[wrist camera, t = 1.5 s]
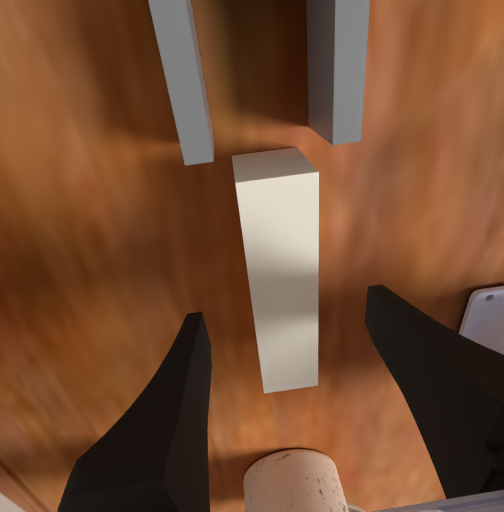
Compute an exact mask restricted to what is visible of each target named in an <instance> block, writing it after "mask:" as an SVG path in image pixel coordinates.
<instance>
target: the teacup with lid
mask: <svg viewBox="0 0 504 512" xmlns="http://www.w3.org/2000/svg"><path fill="white" fill-rule="evenodd" d="M243 485H244V501H245V512H366V511H365V510H364V509H363V508H361V507H360V506H358V505H356V504H354V503H351V502H346V500H345V497H344V493H343V490H342V486H341V483H340V479H339V476H338V473H337V469H336V466H335V464H334V462H333V461H332V460H331V459H330V458H329V457H328V456H327V455H325V454H323V453H320V452H317V451H313V450H307V449H293V450H285V451H280V452H276V453H273V454H270V455H268V456H266V457H263V458H262V459H260V460H258V461H257V462H255V463H254V464H253V465H252V466H251V467H250V468H249V469H248V470H247V472H246V474H245V476H244V481H243Z"/></svg>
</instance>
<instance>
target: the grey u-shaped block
mask: <svg viewBox="0 0 504 512" xmlns="http://www.w3.org/2000/svg"><path fill="white" fill-rule="evenodd" d="M148 2H149V6H150V11H151V15H152V20H153V24H154V29H155V33H156V38H157V42H158V47H159V51H160V56H161V60H162V65H163V69H164V74H165V78H166V83H167V87H168V92H169V96H170V101H171V105H172V110H173V114H174V119H175V123H176V128H177V132H178V137H179V141H180V146H181V150H182V154H183V159H184V163H185V166H186V165H193V164H200V163H208V162H214V135H213V129H212V123H211V117H210V111H209V105H208V99H207V93H206V87H205V81H204V75H203V69H202V63H201V57H200V51H199V45H198V39H197V33H196V27H195V22H194V16H193V10H192V4H191V0H148ZM369 5H370V0H306V6H307V59H308V113H309V128H311V129H312V130H313V131H315V132H316V133H317V134H319V135H320V136H321V137H323V138H324V139H325V140H327V141H328V142H329V143H331V144H332V145H337V144H345V143H352V142H359V141H361V132H362V116H363V100H364V85H365V69H366V53H367V37H368V21H369Z"/></svg>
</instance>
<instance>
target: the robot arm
mask: <svg viewBox="0 0 504 512" xmlns="http://www.w3.org/2000/svg"><path fill="white" fill-rule="evenodd" d="M365 324H366V327H367V329H368V331H369V334H370V336H371V339H372V341H373V343H374V345H375V347H376V348H377V350H378V352H379V354H380V355H381V357H382V359H383V360H384V362H385V364H386V366H387V367H388V369H389V371H390V372H391V374H392V376H393V378H394V379H395V381H396V383H397V384H398V386H399V388H400V390H401V392H402V393H403V395H404V397H405V399H406V402H407V404H408V406H409V408H410V410H411V412H412V415H413V417H414V419H415V421H416V424H417V426H418V428H419V431H420V433H421V435H422V437H423V440H424V442H425V445H426V447H427V450H428V452H429V454H430V457H431V459H432V462H433V464H434V467H435V469H436V472H437V475H438V477H439V480H440V483H441V485H442V488H443V491H444V493H445V496H446V499H445V500H439V501H433V502H427V503H421V504H416V505H410V506H404V507H398V508H392V509H386V510H380V511H374V512H504V286H500V287H493V288H486V289H479V290H476V291H474V292H473V293H472V294H471V296H470V298H469V301H468V305H467V308H466V311H465V314H464V317H463V321H462V324H461V327H460V330H459V334H458V333H456V332H455V331H453V330H451V329H449V328H447V327H446V326H444V325H442V324H441V323H439V322H437V321H436V320H434V319H432V318H431V317H429V316H427V315H426V314H424V313H423V312H421V311H420V310H418V309H417V308H415V307H414V306H412V305H411V304H409V303H408V302H406V301H405V300H404V299H402V298H401V297H399V296H398V295H396V294H395V293H394V292H392V291H391V290H389V289H388V288H386V287H385V286H383V285H376V286H369V287H368V292H367V302H366V312H365ZM211 369H212V365H211V345H210V341H209V337H208V333H207V329H206V325H205V321H204V317H203V313H202V312H197V313H190V314H187V316H186V317H185V320H184V322H183V324H182V326H181V329H180V331H179V333H178V335H177V337H176V339H175V341H174V343H173V345H172V346H171V348H170V350H169V352H168V354H167V356H166V357H165V359H164V360H163V362H162V364H161V365H160V367H159V369H158V370H157V372H156V373H155V375H154V376H153V378H152V379H151V381H150V382H149V384H148V385H147V386H146V388H145V389H144V390H143V392H142V393H141V394H140V395H139V397H138V398H137V399H136V400H135V402H134V403H133V404H132V405H131V407H130V408H129V409H128V410H127V411H126V412H125V414H124V415H123V416H122V417H121V418H120V419H119V420H118V421H117V422H116V423H115V424H114V425H113V426H112V428H111V429H110V430H109V431H108V432H107V433H106V434H105V435H104V436H103V437H102V438H101V439H100V440H99V441H98V442H96V443H95V444H94V445H93V446H92V447H91V448H90V449H89V450H88V451H87V452H86V453H84V454H83V455H82V456H81V457H80V458H79V459H78V460H77V461H76V463H75V466H74V468H73V470H72V472H71V474H70V476H69V479H68V481H67V484H66V487H65V490H64V493H63V496H62V499H61V502H60V504H59V507H58V512H210V502H209V476H208V433H207V427H208V409H209V396H210V383H211Z"/></svg>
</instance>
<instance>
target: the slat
mask: <svg viewBox="0 0 504 512" xmlns="http://www.w3.org/2000/svg"><path fill="white" fill-rule="evenodd" d="M232 163H233V170H234V178H235V185H236V192H237V199H238V207H239V214H240V221H241V229H242V236H243V243H244V251H245V258H246V265H247V272H248V280H249V287H250V294H251V302H252V309H253V316H254V324H255V331H256V338H257V345H258V353H259V360H260V367H261V374H262V382H263V389H264V393H271V392H278V391H284V390H291V389H298V388H305V387H312V386H318V261H319V171H318V170H317V169H316V168H315V167H314V166H313V165H312V164H311V162H310V161H309V160H308V159H307V158H306V157H305V156H304V155H303V153H302V152H301V151H300V150H299V149H298V148H297V147H294V148H286V149H279V150H271V151H264V152H256V153H248V154H241V155H233V156H232Z"/></svg>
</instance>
